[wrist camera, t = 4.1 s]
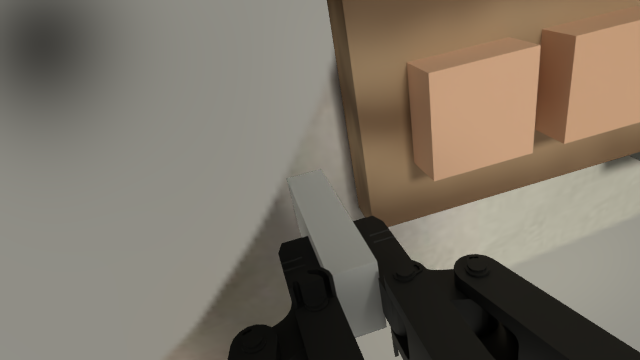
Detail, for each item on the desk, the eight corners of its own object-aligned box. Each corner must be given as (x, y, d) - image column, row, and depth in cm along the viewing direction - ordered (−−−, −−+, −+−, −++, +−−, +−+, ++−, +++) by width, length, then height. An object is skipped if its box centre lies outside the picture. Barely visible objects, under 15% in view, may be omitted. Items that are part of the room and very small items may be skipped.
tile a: (406, 62, 23) (428, 73, 21) (509, 37, 24) (540, 45, 21) (414, 162, 26) (434, 181, 23) (505, 137, 26) (532, 153, 24)
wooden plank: (325, -11, 23) (341, -7, 20) (647, -81, 26) (697, -86, 23) (358, 207, 30) (374, 231, 27) (611, 134, 32) (647, 149, 30)
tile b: (542, 29, 24) (576, 35, 22) (636, 5, 25) (678, 10, 22) (534, 129, 27) (564, 144, 24) (618, 105, 27) (654, 117, 25)
